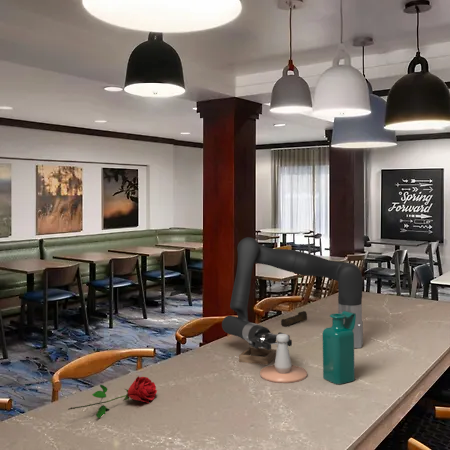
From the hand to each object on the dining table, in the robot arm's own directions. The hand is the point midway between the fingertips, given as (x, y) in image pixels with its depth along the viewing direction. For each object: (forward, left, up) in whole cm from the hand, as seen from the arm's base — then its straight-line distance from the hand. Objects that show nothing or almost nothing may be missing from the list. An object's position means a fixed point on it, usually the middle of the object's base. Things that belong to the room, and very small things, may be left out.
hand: (280, 345), depth 179 cm
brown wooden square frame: (+13, -13, -10) cm, 21 cm away
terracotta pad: (-1, +1, -10) cm, 10 cm away
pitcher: (-20, -1, -10) cm, 23 cm away
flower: (+36, +45, -10) cm, 59 cm away
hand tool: (+14, -72, -10) cm, 74 cm away
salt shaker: (-1, +1, -9) cm, 9 cm away
